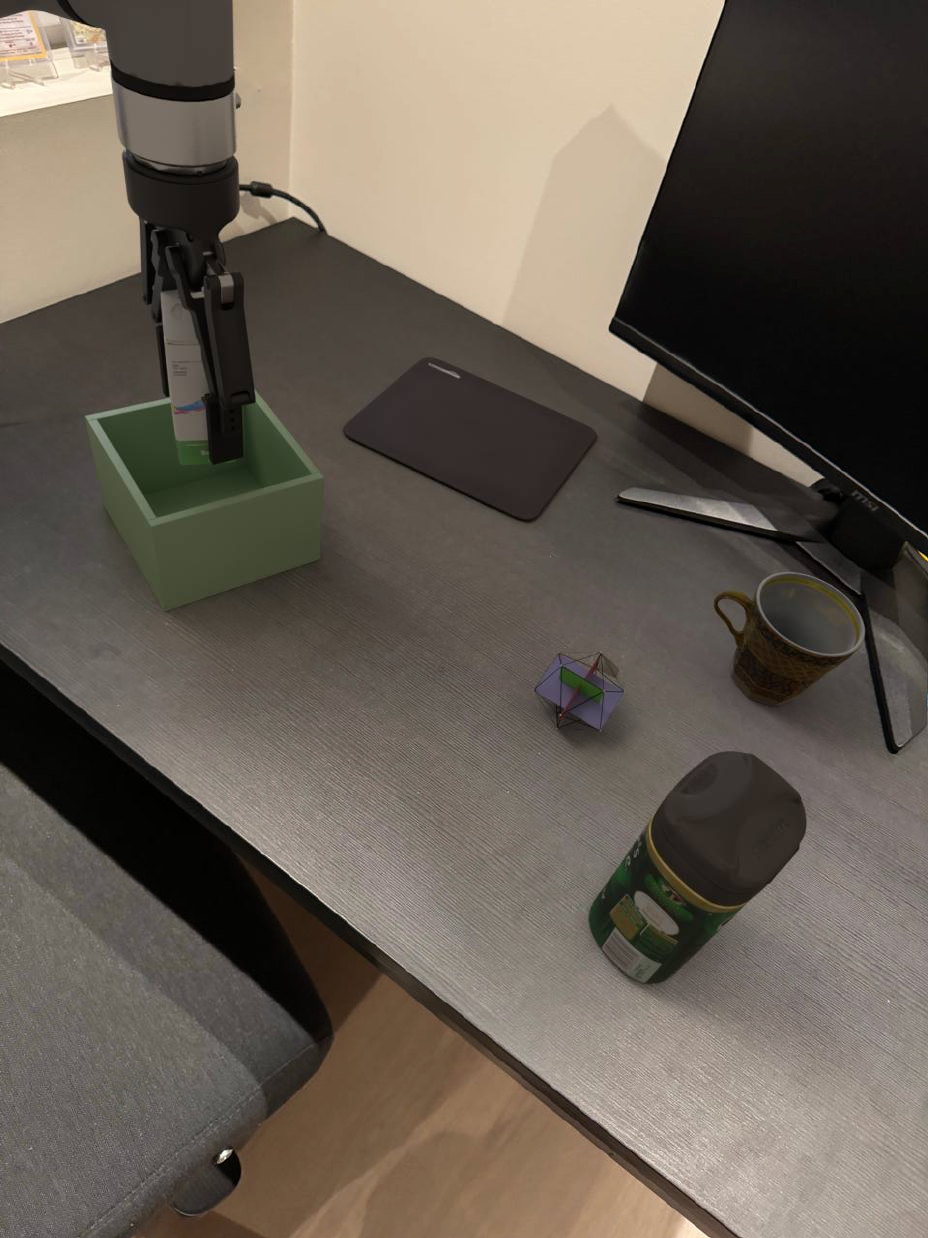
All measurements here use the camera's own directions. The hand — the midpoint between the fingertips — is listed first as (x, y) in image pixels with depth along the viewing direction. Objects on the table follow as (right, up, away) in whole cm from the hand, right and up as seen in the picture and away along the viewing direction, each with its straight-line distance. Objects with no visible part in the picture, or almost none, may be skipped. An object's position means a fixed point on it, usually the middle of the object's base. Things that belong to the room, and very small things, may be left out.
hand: (202, 424), depth 73 cm
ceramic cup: (+50, -22, +9) cm, 56 cm away
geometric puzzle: (+32, -25, +3) cm, 41 cm away
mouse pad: (+24, +5, +27) cm, 37 cm away
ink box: (0, -1, +1) cm, 1 cm away
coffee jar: (+36, -40, -9) cm, 55 cm away
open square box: (-2, -8, +10) cm, 13 cm away
